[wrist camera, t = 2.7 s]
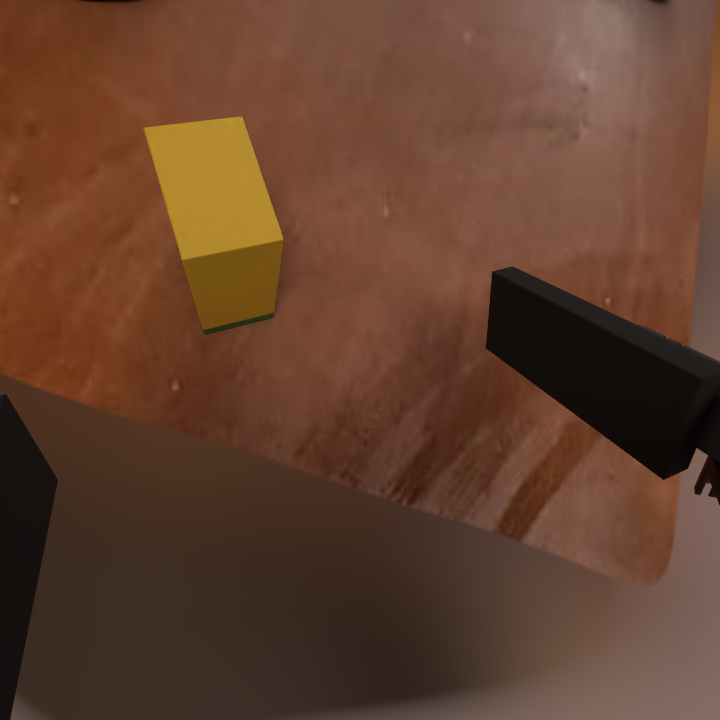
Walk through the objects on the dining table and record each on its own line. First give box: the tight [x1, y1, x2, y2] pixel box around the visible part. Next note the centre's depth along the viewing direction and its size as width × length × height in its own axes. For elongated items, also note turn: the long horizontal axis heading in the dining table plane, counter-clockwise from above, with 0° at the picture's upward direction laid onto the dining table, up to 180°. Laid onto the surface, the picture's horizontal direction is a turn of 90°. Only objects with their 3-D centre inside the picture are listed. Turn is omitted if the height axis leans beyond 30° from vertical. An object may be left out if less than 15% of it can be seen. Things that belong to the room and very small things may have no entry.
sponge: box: [144, 117, 284, 334], centre depth 23 cm, size 4×6×9 cm, turn 20°
